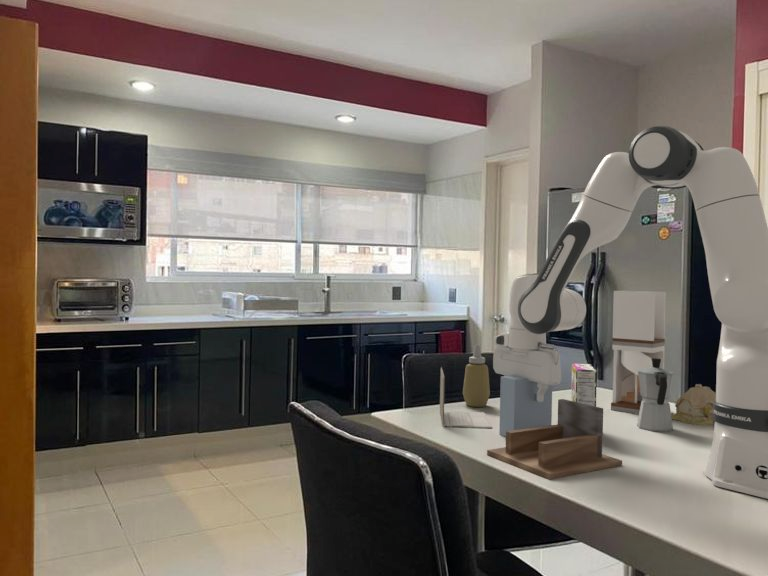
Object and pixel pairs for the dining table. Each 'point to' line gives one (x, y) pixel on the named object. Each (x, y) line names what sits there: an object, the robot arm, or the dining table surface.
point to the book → (522, 405)
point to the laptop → (460, 414)
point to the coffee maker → (655, 398)
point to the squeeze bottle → (476, 381)
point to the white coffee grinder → (635, 343)
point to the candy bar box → (584, 384)
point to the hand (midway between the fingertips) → (524, 397)
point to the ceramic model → (696, 406)
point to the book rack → (560, 444)
